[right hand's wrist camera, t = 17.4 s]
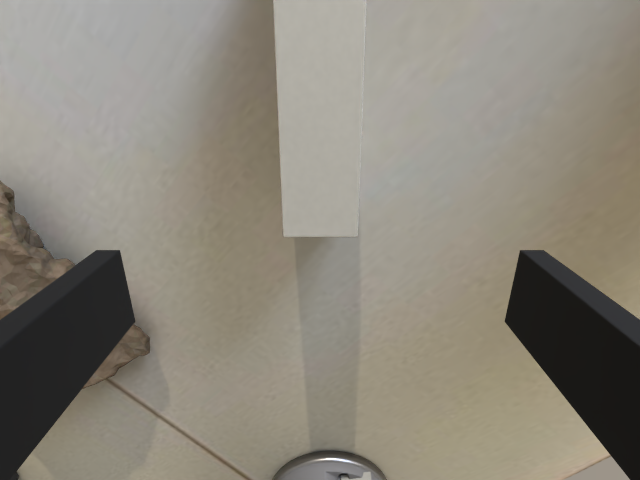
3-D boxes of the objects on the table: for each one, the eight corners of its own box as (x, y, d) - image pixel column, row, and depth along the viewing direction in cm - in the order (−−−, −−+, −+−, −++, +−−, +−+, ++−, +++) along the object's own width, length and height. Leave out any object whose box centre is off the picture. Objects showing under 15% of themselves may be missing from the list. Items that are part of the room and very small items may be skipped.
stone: (-145, 257, 32) (-212, 293, 27) (3, 164, 33) (-35, 181, 27) (53, 392, 42) (31, 437, 37) (164, 319, 43) (159, 354, 37)
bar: (349, 204, 34) (357, 237, 27) (291, 204, 34) (282, 237, 27) (358, -104, 26) (373, -183, 18) (281, -104, 26) (264, -182, 18)
